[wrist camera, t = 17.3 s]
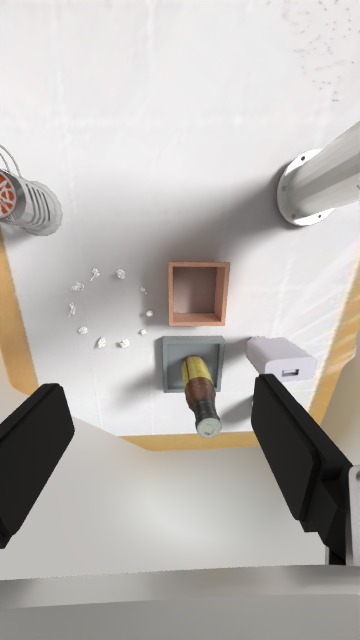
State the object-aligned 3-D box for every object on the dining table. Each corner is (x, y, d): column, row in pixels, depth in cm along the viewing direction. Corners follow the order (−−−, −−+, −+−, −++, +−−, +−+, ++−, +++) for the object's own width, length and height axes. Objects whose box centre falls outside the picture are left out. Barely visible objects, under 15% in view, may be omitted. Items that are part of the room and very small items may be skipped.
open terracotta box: (220, 262, 41) (230, 262, 34) (216, 316, 45) (224, 325, 38) (169, 261, 41) (168, 261, 34) (169, 316, 44) (169, 326, 38)
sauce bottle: (191, 378, 49) (202, 452, 30) (176, 362, 47) (178, 430, 28) (210, 364, 48) (235, 431, 29) (195, 347, 46) (211, 407, 27)
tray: (222, 335, 47) (224, 339, 44) (218, 385, 51) (220, 391, 49) (163, 336, 46) (162, 340, 44) (164, 386, 50) (163, 392, 48)
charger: (271, 344, 48) (314, 379, 33) (236, 347, 48) (264, 383, 33) (273, 327, 46) (318, 356, 32) (237, 330, 46) (266, 360, 32)
